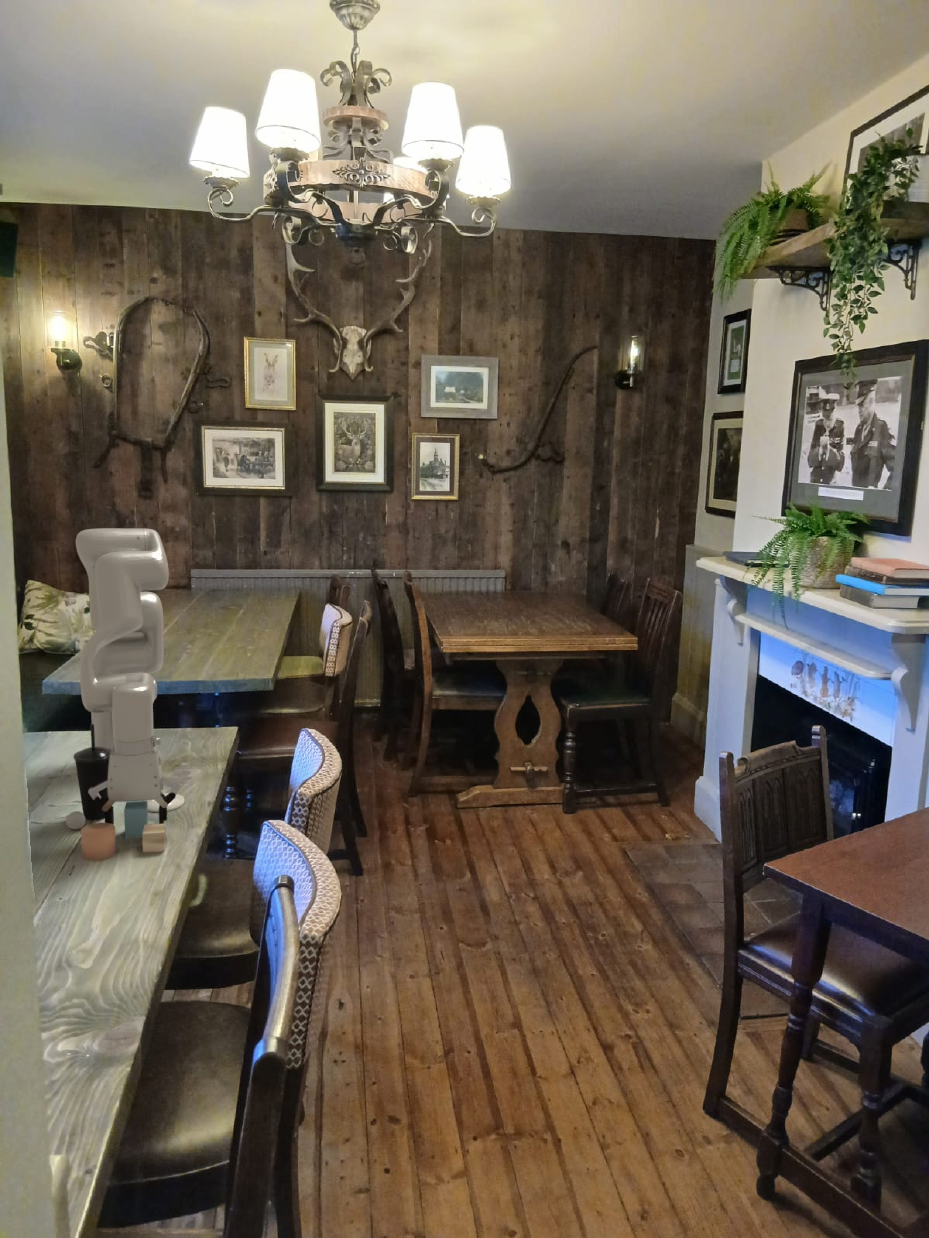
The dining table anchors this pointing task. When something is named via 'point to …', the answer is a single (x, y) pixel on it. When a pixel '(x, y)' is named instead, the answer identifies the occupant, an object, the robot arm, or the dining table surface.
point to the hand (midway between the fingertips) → (136, 825)
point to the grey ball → (75, 820)
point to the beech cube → (154, 838)
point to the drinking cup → (92, 776)
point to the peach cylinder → (98, 841)
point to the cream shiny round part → (173, 805)
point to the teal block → (135, 818)
